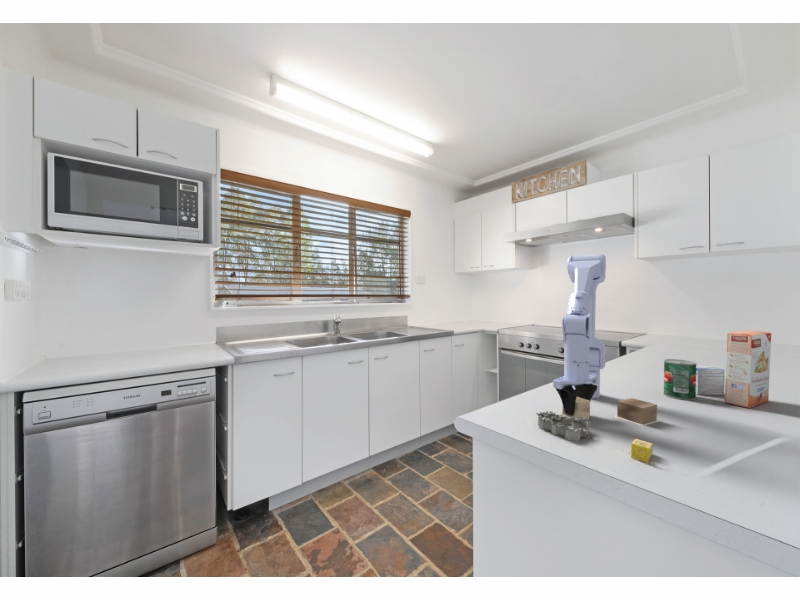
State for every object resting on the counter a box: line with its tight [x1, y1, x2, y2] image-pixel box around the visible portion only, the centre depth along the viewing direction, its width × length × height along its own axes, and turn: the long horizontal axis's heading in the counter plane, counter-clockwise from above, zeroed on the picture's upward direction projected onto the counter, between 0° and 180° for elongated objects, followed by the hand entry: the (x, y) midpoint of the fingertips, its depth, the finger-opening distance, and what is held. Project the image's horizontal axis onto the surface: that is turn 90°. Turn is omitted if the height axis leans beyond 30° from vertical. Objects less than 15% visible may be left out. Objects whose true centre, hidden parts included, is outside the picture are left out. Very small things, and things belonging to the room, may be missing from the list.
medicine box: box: [696, 365, 726, 396], centre depth 110 cm, size 8×4×9 cm, turn 84°
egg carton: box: [535, 410, 592, 441], centre depth 81 cm, size 11×8×4 cm
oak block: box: [561, 397, 591, 419], centre depth 88 cm, size 4×4×5 cm
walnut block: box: [616, 397, 658, 426], centre depth 86 cm, size 6×6×4 cm
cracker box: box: [724, 330, 772, 409], centre depth 101 cm, size 14×6×21 cm, turn 117°
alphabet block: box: [630, 438, 654, 464], centre depth 67 cm, size 3×3×3 cm
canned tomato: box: [662, 358, 697, 401], centre depth 107 cm, size 8×8×11 cm
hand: (576, 412), depth 88 cm, fingers closed on oak block, 4 cm apart
